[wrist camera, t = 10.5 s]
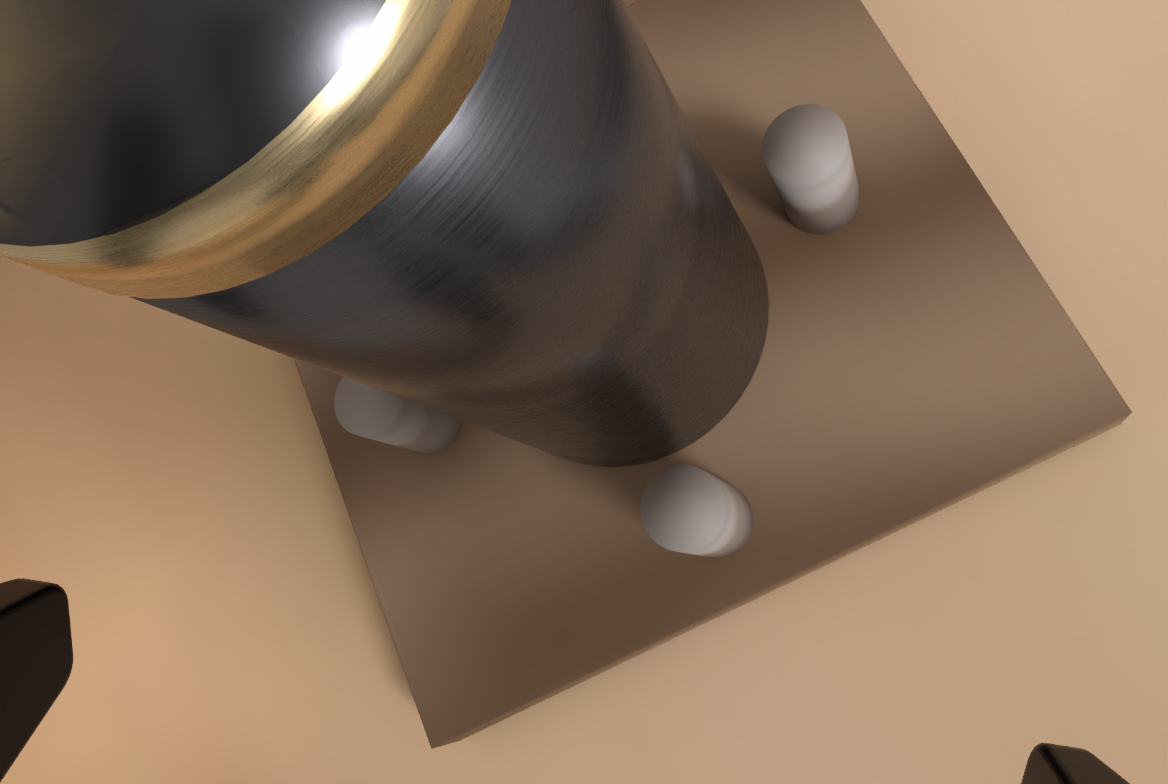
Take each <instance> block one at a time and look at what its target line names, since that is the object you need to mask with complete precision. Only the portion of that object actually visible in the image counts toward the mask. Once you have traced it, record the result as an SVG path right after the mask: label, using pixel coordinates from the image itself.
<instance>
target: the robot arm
mask: <svg viewBox="0 0 1168 784" xmlns="http://www.w3.org/2000/svg"><path fill="white" fill-rule="evenodd" d="M72 664H73V649H72V638H71V627H70V616H69V606H68V598H67V595H66V593H65V591H64V589H63V588H62V587H60V586H59V585H58V584H54V583H48V582H42V581H36V580H30V579H14V580H10V581H7V582H3V583H0V782H1V780H2V779H3V778H4V776H5V775H6V773H7V772H8V770H9V769H10V767H11V766H12V764H13V763H14V761H15V760H16V758H17V757H18V755H19V754H20V752H21V751H22V749H23V748H24V746H25V745H26V743H27V742H28V740H29V739H30V737H31V736H32V734H33V733H34V731H35V730H36V728H37V727H38V725H39V724H40V722H41V721H42V719H43V718H44V716H45V715H46V713H47V712H48V710H49V709H50V707H51V706H52V704H53V703H54V701H55V700H56V698H57V697H58V695H59V694H60V692H61V691H62V689H63V688H64V686H65V685H66V683H67V681H68V678H69V676H70V673H71V670H72ZM1021 784H1130V783H1128V782H1127V781H1126V780H1125V779H1123V778H1122V777H1121V776H1120V775H1118V774H1117V773H1116V772H1115V771H1113V770H1112V769H1111V768H1110V767H1108V766H1107V765H1106V764H1104V763H1103V762H1102V761H1101V760H1099V759H1098V758H1097V757H1096V756H1094V755H1093V754H1092V753H1090V752H1089V751H1087V750H1084V749H1081V748H1074V747H1068V746H1061V745H1055V744H1049V743H1041V744H1039V745H1037V746H1035V747H1034V749H1033V750H1032V752H1031V753H1030V756H1029V758H1028V762H1027V765H1026V769H1025V772H1024V776H1023V779H1022V783H1021Z"/></svg>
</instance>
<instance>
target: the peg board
mask: <svg viewBox="0 0 1168 784" xmlns="http://www.w3.org/2000/svg"><path fill="white" fill-rule="evenodd" d="M627 9H628V11H629V13H630V15H631V17H632V19H633V21H634V22H635V24H636V26H637V28H638V30H639V32H640V34H641V35H642V37H643V39H644V41H645V43H646V45H647V47H648V48H649V50H650V52H651V54H652V56H653V58H654V60H655V61H656V63H657V65H658V67H659V69H660V71H661V73H662V74H663V76H664V78H665V80H666V82H667V84H668V86H669V87H670V89H671V91H672V93H673V95H674V97H675V99H676V100H677V102H678V104H679V106H680V108H681V110H682V112H683V113H684V115H685V117H686V119H687V121H688V123H689V125H690V126H691V128H692V130H693V132H694V134H695V136H696V138H697V139H698V141H699V143H700V145H701V147H702V149H703V151H704V152H705V154H706V156H707V158H708V160H709V162H710V164H711V165H712V167H713V169H714V171H715V173H716V175H717V177H718V178H719V180H720V182H721V184H722V186H723V188H724V190H725V191H726V193H727V195H728V197H729V199H730V201H731V203H732V205H733V206H734V208H735V210H736V212H737V214H738V216H739V218H740V219H741V221H742V223H743V225H744V227H745V229H746V231H747V232H748V234H749V236H750V238H751V240H752V242H753V244H754V245H755V248H756V250H757V252H758V255H759V257H760V260H761V262H762V265H763V269H764V273H765V277H766V281H767V288H768V298H769V319H768V328H767V334H766V340H765V344H764V348H763V351H762V354H761V358H760V361H759V364H758V366H757V368H756V370H755V372H754V375H753V377H752V379H751V381H750V383H749V385H748V386H747V388H746V389H745V391H744V393H743V394H742V396H741V397H740V399H739V400H738V402H737V403H736V404H735V405H734V407H733V408H732V409H731V410H730V411H729V413H728V414H727V415H726V416H725V417H724V418H723V419H722V420H721V421H720V422H719V423H718V424H717V425H716V426H715V427H714V428H713V429H712V430H710V431H709V432H708V433H706V434H705V435H704V436H702V437H701V438H700V439H698V440H697V441H696V442H694V443H692V444H691V445H689V446H687V447H685V448H683V449H682V450H680V451H678V452H676V453H674V454H671V455H669V456H666V457H664V458H661V459H659V460H655V461H651V462H648V463H644V464H640V465H633V466H624V467H598V466H592V465H586V464H580V463H577V462H574V461H571V460H567V459H564V458H561V457H559V456H556V455H553V454H550V453H548V452H545V451H542V450H540V449H537V448H534V447H532V446H529V445H526V444H524V443H521V442H518V441H516V440H513V439H510V438H507V437H505V436H502V435H499V434H497V433H494V432H491V431H489V430H486V429H483V428H481V427H478V426H475V425H472V424H470V423H467V422H464V421H462V420H459V419H456V418H454V417H451V416H448V415H446V414H443V413H440V412H438V411H435V410H432V409H429V408H427V407H424V406H421V405H419V404H416V403H413V402H411V401H408V400H405V399H403V398H400V397H397V396H395V395H392V394H389V393H386V392H384V391H381V390H378V389H376V388H373V387H370V386H368V385H365V384H362V383H360V382H357V381H354V380H351V379H349V378H346V377H343V376H341V375H338V374H335V373H333V372H330V371H327V370H325V369H322V368H319V367H317V366H314V365H311V364H308V363H306V362H303V361H300V360H298V359H295V358H294V359H295V362H296V365H297V368H298V371H299V374H300V376H301V379H302V382H303V385H304V388H305V391H306V393H307V396H308V399H309V402H310V405H311V408H312V411H313V413H314V416H315V419H316V422H317V425H318V428H319V430H320V433H321V436H322V439H323V442H324V445H325V447H326V450H327V453H328V456H329V459H330V462H331V464H332V467H333V470H334V473H335V476H336V479H337V482H338V484H339V487H340V490H341V493H342V496H343V499H344V501H345V504H346V507H347V510H348V513H349V516H350V518H351V521H352V524H353V527H354V530H355V533H356V535H357V538H358V541H359V544H360V547H361V550H362V553H363V555H364V558H365V561H366V564H367V567H368V570H369V572H370V575H371V578H372V581H373V584H374V587H375V589H376V592H377V595H378V598H379V601H380V604H381V606H382V609H383V612H384V615H385V618H386V621H387V624H388V626H389V629H390V632H391V635H392V638H393V641H394V643H395V646H396V649H397V652H398V655H399V658H400V660H401V663H402V666H403V669H404V672H405V675H406V677H407V680H408V683H409V686H410V689H411V692H412V695H413V697H414V700H415V703H416V706H417V709H418V712H419V714H420V717H421V720H422V723H423V726H424V729H425V731H426V734H427V737H428V740H429V743H430V746H431V748H436V747H439V746H443V745H446V744H449V743H453V742H456V741H460V740H462V739H464V738H466V737H468V736H470V735H472V734H474V733H476V732H479V731H481V730H483V729H485V728H487V727H489V726H491V725H493V724H495V723H497V722H499V721H502V720H504V719H506V718H508V717H510V716H512V715H514V714H516V713H518V712H520V711H522V710H524V709H527V708H529V707H531V706H533V705H535V704H537V703H539V702H541V701H543V700H545V699H547V698H550V697H552V696H554V695H556V694H558V693H560V692H562V691H564V690H566V689H568V688H570V687H573V686H575V685H577V684H579V683H581V682H583V681H585V680H587V679H589V678H591V677H593V676H596V675H598V674H600V673H602V672H604V671H606V670H608V669H610V668H612V667H614V666H616V665H618V664H621V663H623V662H625V661H627V660H629V659H631V658H633V657H635V656H637V655H639V654H641V653H644V652H646V651H648V650H650V649H652V648H654V647H656V646H658V645H660V644H662V643H664V642H667V641H669V640H671V639H673V638H675V637H677V636H679V635H681V634H683V633H685V632H687V631H689V630H692V629H694V628H696V627H698V626H700V625H702V624H704V623H706V622H708V621H710V620H712V619H715V618H717V617H719V616H721V615H723V614H725V613H727V612H729V611H731V610H733V609H735V608H738V607H740V606H742V605H744V604H746V603H748V602H750V601H752V600H754V599H756V598H758V597H761V596H763V595H765V594H767V593H769V592H771V591H773V590H775V589H777V588H779V587H781V586H783V585H786V584H788V583H790V582H792V581H794V580H796V579H798V578H800V577H802V576H804V575H806V574H809V573H811V572H813V571H815V570H817V569H819V568H821V567H823V566H825V565H827V564H829V563H832V562H834V561H836V560H838V559H840V558H842V557H844V556H846V555H848V554H850V553H852V552H855V551H857V550H859V549H861V548H863V547H865V546H867V545H869V544H871V543H873V542H875V541H877V540H880V539H882V538H884V537H886V536H888V535H890V534H892V533H894V532H896V531H898V530H900V529H903V528H905V527H907V526H909V525H911V524H913V523H915V522H917V521H919V520H921V519H923V518H926V517H928V516H930V515H932V514H934V513H936V512H938V511H940V510H942V509H944V508H946V507H948V506H951V505H953V504H955V503H957V502H959V501H961V500H963V499H965V498H967V497H969V496H971V495H974V494H976V493H978V492H980V491H982V490H984V489H986V488H988V487H990V486H992V485H994V484H997V483H999V482H1001V481H1003V480H1005V479H1007V478H1009V477H1011V476H1013V475H1015V474H1017V473H1020V472H1022V471H1024V470H1026V469H1028V468H1030V467H1032V466H1034V465H1036V464H1038V463H1040V462H1042V461H1045V460H1047V459H1049V458H1051V457H1053V456H1055V455H1057V454H1059V453H1061V452H1063V451H1065V450H1068V449H1070V448H1072V447H1074V446H1076V445H1078V444H1080V443H1082V442H1084V441H1086V440H1088V439H1091V438H1093V437H1095V436H1097V435H1099V434H1101V433H1103V432H1105V431H1107V430H1109V429H1111V428H1114V427H1116V426H1118V425H1120V424H1121V423H1122V422H1123V421H1124V420H1125V419H1126V418H1127V417H1128V416H1129V415H1130V414H1131V413H1132V412H1131V410H1130V409H1129V407H1128V406H1127V404H1126V403H1125V401H1124V400H1123V398H1122V397H1121V395H1120V394H1119V392H1118V391H1117V389H1116V388H1115V386H1114V385H1113V383H1112V381H1111V380H1110V378H1109V377H1108V375H1107V374H1106V372H1105V371H1104V369H1103V368H1102V366H1101V365H1100V363H1099V362H1098V360H1097V359H1096V357H1095V356H1094V354H1093V353H1092V351H1091V350H1090V348H1089V347H1088V345H1087V344H1086V342H1085V341H1084V339H1083V337H1082V336H1081V334H1080V333H1079V331H1078V330H1077V328H1076V327H1075V325H1074V324H1073V322H1072V321H1071V319H1070V318H1069V316H1068V315H1067V313H1066V312H1065V310H1064V309H1063V307H1062V306H1061V304H1060V303H1059V301H1058V300H1057V298H1056V297H1055V295H1054V294H1053V292H1052V290H1051V289H1050V287H1049V286H1048V284H1047V283H1046V281H1045V280H1044V278H1043V277H1042V275H1041V274H1040V272H1039V271H1038V269H1037V268H1036V266H1035V265H1034V263H1033V262H1032V260H1031V259H1030V257H1029V256H1028V254H1027V253H1026V251H1025V250H1024V248H1023V246H1022V245H1021V243H1020V242H1019V240H1018V239H1017V237H1016V236H1015V234H1014V233H1013V231H1012V230H1011V228H1010V227H1009V225H1008V224H1007V222H1006V221H1005V219H1004V218H1003V216H1002V215H1001V213H1000V212H999V210H998V209H997V207H996V206H995V204H994V202H993V201H992V199H991V198H990V196H989V195H988V193H987V192H986V190H985V189H984V187H983V186H982V184H981V183H980V181H979V180H978V178H977V177H976V175H975V174H974V172H973V171H972V169H971V168H970V166H969V165H968V163H967V162H966V160H965V158H964V157H963V155H962V154H961V152H960V151H959V149H958V148H957V146H956V145H955V143H954V142H953V140H952V139H951V137H950V136H949V134H948V133H947V131H946V130H945V128H944V127H943V125H942V124H941V122H940V121H939V119H938V118H937V116H936V114H935V113H934V111H933V110H932V108H931V107H930V105H929V104H928V102H927V101H926V99H925V98H924V96H923V95H922V93H921V92H920V90H919V89H918V87H917V86H916V84H915V83H914V81H913V80H912V78H911V77H910V75H909V74H908V72H907V71H906V69H905V67H904V66H903V64H902V63H901V61H900V60H899V58H898V57H897V55H896V54H895V52H894V51H893V49H892V48H891V46H890V45H889V43H888V42H887V40H886V39H885V37H884V36H883V34H882V33H881V31H880V30H879V28H878V27H877V25H876V23H875V22H874V20H873V19H872V17H871V16H870V14H869V13H868V11H867V10H866V8H865V7H864V5H863V4H862V2H861V1H860V0H639V1H637V2H636V3H634V4H632V5H631V6H629V7H628V8H627Z"/></svg>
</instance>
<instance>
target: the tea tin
mask: <svg viewBox="0 0 1168 784" xmlns="http://www.w3.org/2000/svg"><path fill="white" fill-rule="evenodd" d="M0 256H3V257H6V258H8V259H11V260H14V261H16V262H19V263H22V264H25V265H27V266H30V267H33V268H36V269H38V270H41V271H44V272H47V273H49V274H52V275H55V276H58V277H60V278H63V279H66V280H69V281H71V282H74V283H77V284H80V285H83V286H86V287H89V288H93V289H96V290H99V291H103V292H106V293H109V294H113V295H120V296H128V297H131V298H134V299H136V300H139V301H142V302H144V303H147V304H150V305H152V306H155V307H158V308H161V309H163V310H166V311H169V312H171V313H174V314H177V315H179V316H182V317H185V318H187V319H190V320H193V321H196V322H198V323H201V324H204V325H206V326H209V327H212V328H214V329H217V330H220V331H222V332H225V333H228V334H230V335H233V336H236V337H239V338H241V339H244V340H247V341H249V342H252V343H255V344H257V345H260V346H263V347H265V348H268V349H271V350H273V351H276V352H279V353H282V354H284V355H287V356H290V357H292V358H295V359H298V360H300V361H303V362H306V363H308V364H311V365H314V366H317V367H319V368H322V369H325V370H327V371H330V372H333V373H335V374H338V375H341V376H343V377H346V378H349V379H351V380H354V381H357V382H360V383H362V384H365V385H368V386H370V387H373V388H376V389H378V390H381V391H384V392H386V393H389V394H392V395H395V396H397V397H400V398H403V399H405V400H408V401H411V402H413V403H416V404H419V405H421V406H424V407H427V408H429V409H432V410H435V411H438V412H440V413H443V414H446V415H448V416H451V417H454V418H456V419H459V420H462V421H464V422H467V423H470V424H472V425H475V426H478V427H481V428H483V429H486V430H489V431H491V432H494V433H497V434H499V435H502V436H505V437H507V438H510V439H513V440H516V441H518V442H521V443H524V444H526V445H529V446H532V447H534V448H537V449H540V450H542V451H545V452H548V453H550V454H553V455H556V456H559V457H561V458H564V459H567V460H571V461H574V462H577V463H580V464H586V465H592V466H598V467H624V466H633V465H640V464H644V463H648V462H651V461H655V460H659V459H661V458H664V457H666V456H669V455H671V454H674V453H676V452H678V451H680V450H682V449H683V448H685V447H687V446H689V445H691V444H692V443H694V442H696V441H697V440H698V439H700V438H701V437H702V436H704V435H705V434H706V433H708V432H709V431H710V430H712V429H713V428H714V427H715V426H716V425H717V424H718V423H719V422H720V421H721V420H722V419H723V418H724V417H725V416H726V415H727V414H728V413H729V411H730V410H731V409H732V408H733V407H734V405H735V404H736V403H737V402H738V400H739V399H740V397H741V396H742V394H743V393H744V391H745V389H746V388H747V386H748V385H749V383H750V381H751V379H752V377H753V375H754V372H755V370H756V368H757V366H758V364H759V361H760V358H761V354H762V351H763V348H764V344H765V340H766V334H767V328H768V319H769V298H768V288H767V281H766V277H765V273H764V269H763V265H762V262H761V260H760V257H759V255H758V252H757V250H756V248H755V245H754V244H753V242H752V240H751V238H750V236H749V234H748V232H747V231H746V229H745V227H744V225H743V223H742V221H741V219H740V218H739V216H738V214H737V212H736V210H735V208H734V206H733V205H732V203H731V201H730V199H729V197H728V195H727V193H726V191H725V190H724V188H723V186H722V184H721V182H720V180H719V178H718V177H717V175H716V173H715V171H714V169H713V167H712V165H711V164H710V162H709V160H708V158H707V156H706V154H705V152H704V151H703V149H702V147H701V145H700V143H699V141H698V139H697V138H696V136H695V134H694V132H693V130H692V128H691V126H690V125H689V123H688V121H687V119H686V117H685V115H684V113H683V112H682V110H681V108H680V106H679V104H678V102H677V100H676V99H675V97H674V95H673V93H672V91H671V89H670V87H669V86H668V84H667V82H666V80H665V78H664V76H663V74H662V73H661V71H660V69H659V67H658V65H657V63H656V61H655V60H654V58H653V56H652V54H651V52H650V50H649V48H648V47H647V45H646V43H645V41H644V39H643V37H642V35H641V34H640V32H639V30H638V28H637V26H636V24H635V22H634V21H633V19H632V17H631V15H630V13H629V11H628V9H627V8H626V6H625V4H624V2H623V0H0Z"/></svg>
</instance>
